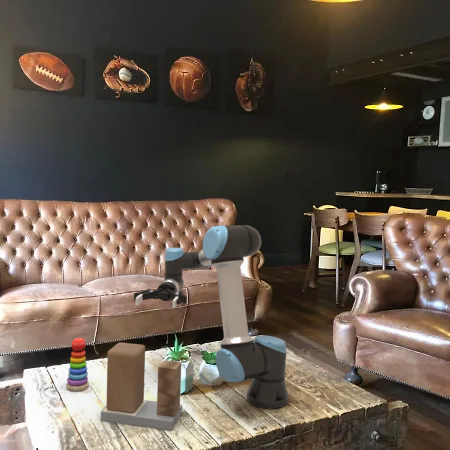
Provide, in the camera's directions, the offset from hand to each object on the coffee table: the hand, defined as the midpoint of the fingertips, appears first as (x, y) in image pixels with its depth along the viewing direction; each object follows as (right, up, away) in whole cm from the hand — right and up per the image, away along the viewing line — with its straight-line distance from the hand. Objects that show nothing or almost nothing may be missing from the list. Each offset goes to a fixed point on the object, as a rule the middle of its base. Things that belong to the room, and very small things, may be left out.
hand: (155, 303), depth 181 cm
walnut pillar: (+7, -33, -17) cm, 38 cm away
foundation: (-2, -35, -15) cm, 38 cm away
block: (-8, -32, -14) cm, 36 cm away
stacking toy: (-30, -32, +6) cm, 44 cm away
